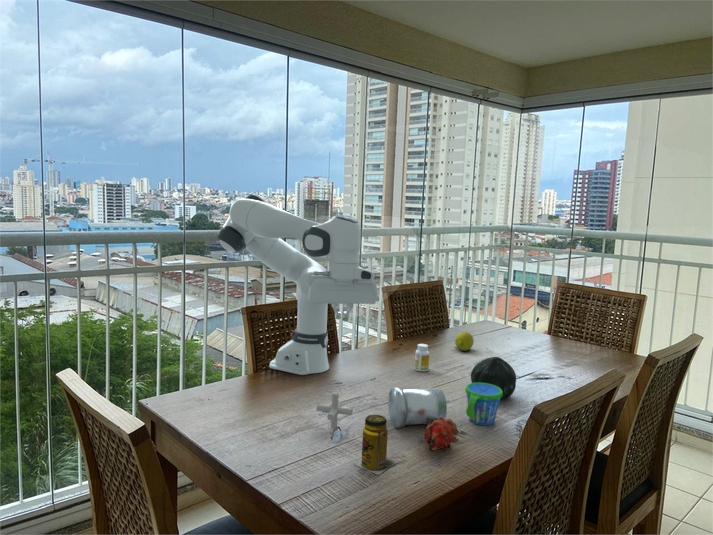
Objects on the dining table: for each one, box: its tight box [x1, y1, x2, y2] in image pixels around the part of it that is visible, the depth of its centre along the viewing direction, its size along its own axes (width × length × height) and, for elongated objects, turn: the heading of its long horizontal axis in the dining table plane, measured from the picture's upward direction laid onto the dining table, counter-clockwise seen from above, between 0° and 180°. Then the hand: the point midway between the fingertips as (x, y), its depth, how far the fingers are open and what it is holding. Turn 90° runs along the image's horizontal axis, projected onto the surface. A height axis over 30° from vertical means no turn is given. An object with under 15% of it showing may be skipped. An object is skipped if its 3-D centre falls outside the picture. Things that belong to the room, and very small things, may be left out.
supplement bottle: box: [414, 343, 430, 372], centre depth 202 cm, size 5×5×10 cm
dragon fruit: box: [423, 417, 460, 452], centre depth 139 cm, size 8×8×12 cm
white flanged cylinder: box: [387, 387, 448, 429], centre depth 153 cm, size 14×13×11 cm
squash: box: [470, 356, 517, 401], centre depth 178 cm, size 14×15×15 cm
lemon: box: [454, 331, 474, 352], centre depth 232 cm, size 11×8×8 cm
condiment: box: [354, 414, 398, 476], centre depth 128 cm, size 7×8×12 cm
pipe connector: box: [316, 391, 354, 429], centre depth 148 cm, size 10×10×10 cm
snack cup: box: [464, 382, 503, 426], centre depth 157 cm, size 16×10×10 cm
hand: (341, 318), depth 155 cm, fingers closed
